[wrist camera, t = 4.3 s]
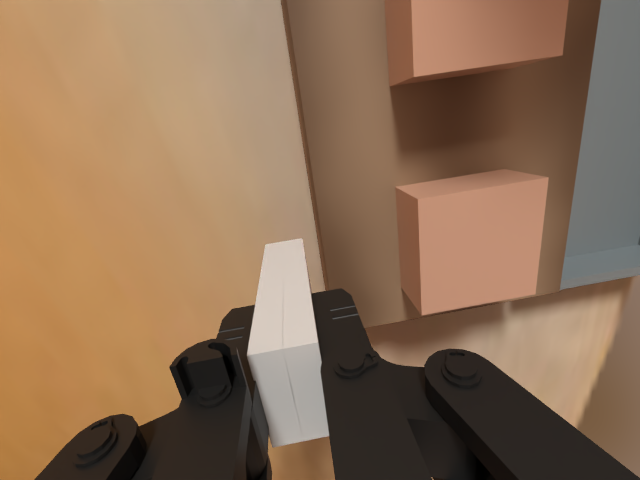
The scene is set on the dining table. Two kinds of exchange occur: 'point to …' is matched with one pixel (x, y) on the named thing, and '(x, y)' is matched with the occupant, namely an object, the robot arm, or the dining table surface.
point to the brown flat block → (423, 140)
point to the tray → (608, 157)
